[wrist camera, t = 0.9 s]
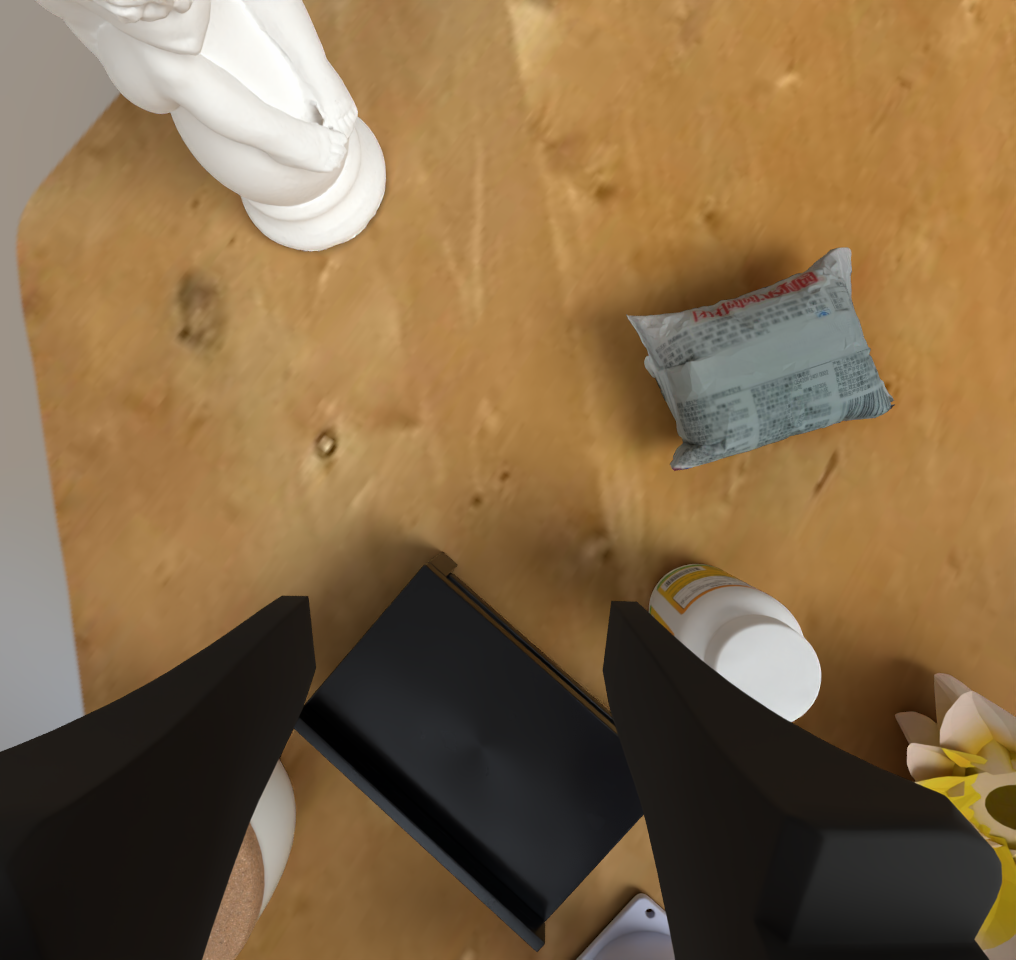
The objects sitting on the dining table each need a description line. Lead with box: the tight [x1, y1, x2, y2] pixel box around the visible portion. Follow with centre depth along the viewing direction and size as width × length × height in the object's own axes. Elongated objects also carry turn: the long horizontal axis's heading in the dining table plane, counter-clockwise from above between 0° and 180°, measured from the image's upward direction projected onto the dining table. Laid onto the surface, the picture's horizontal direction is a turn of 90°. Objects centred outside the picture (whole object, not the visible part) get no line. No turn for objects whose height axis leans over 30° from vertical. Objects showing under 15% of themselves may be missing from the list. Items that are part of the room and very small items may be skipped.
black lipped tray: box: [294, 552, 644, 952], centre depth 27 cm, size 16×10×6 cm, turn 49°
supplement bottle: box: [649, 564, 821, 722], centre depth 24 cm, size 5×5×10 cm
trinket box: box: [202, 760, 296, 960], centre depth 27 cm, size 11×11×9 cm
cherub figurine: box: [35, 0, 386, 251], centre depth 20 cm, size 12×12×22 cm
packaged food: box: [626, 248, 895, 471], centre depth 27 cm, size 9×12×5 cm
